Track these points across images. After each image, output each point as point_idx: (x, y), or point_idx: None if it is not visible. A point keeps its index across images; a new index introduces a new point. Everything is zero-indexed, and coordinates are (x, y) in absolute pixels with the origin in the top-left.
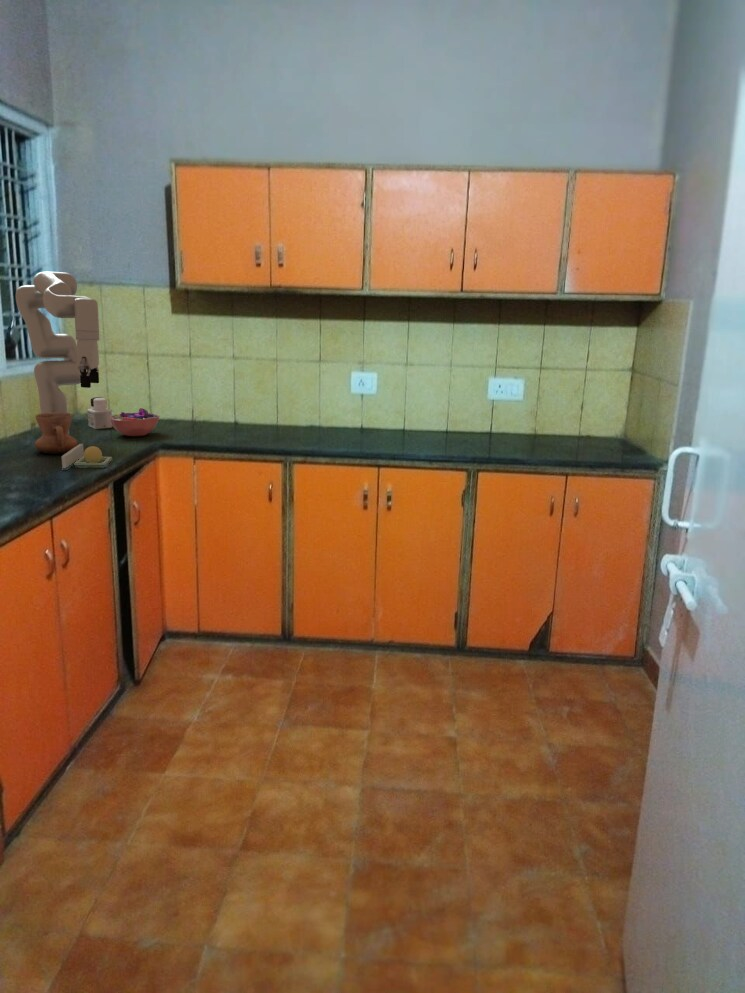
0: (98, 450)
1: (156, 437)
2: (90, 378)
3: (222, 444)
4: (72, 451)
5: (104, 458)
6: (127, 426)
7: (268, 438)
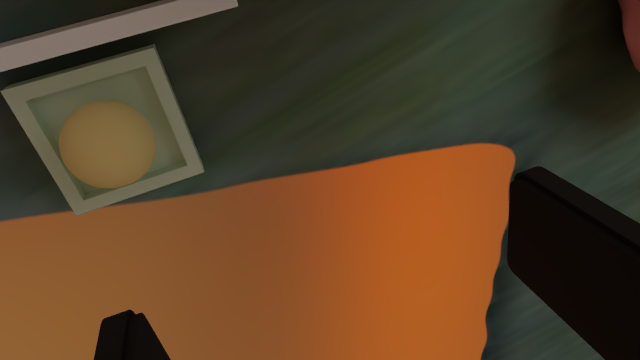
0: (108, 187)
1: (617, 85)
2: (554, 220)
3: (528, 307)
4: (37, 61)
5: (181, 148)
6: (638, 4)
7: None
